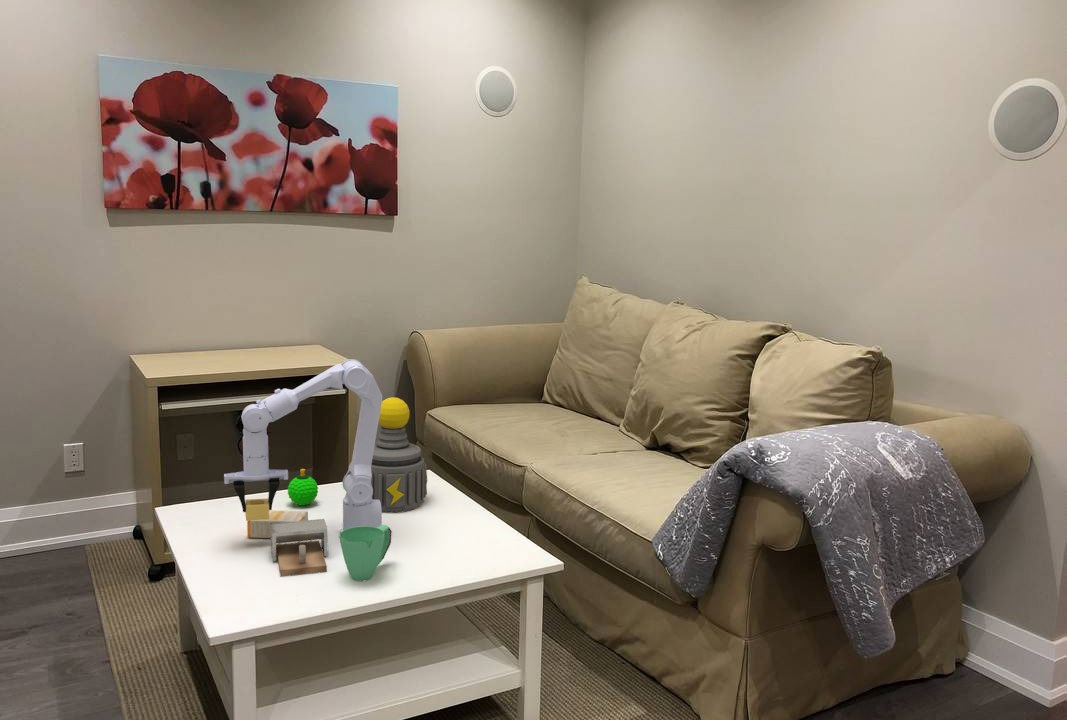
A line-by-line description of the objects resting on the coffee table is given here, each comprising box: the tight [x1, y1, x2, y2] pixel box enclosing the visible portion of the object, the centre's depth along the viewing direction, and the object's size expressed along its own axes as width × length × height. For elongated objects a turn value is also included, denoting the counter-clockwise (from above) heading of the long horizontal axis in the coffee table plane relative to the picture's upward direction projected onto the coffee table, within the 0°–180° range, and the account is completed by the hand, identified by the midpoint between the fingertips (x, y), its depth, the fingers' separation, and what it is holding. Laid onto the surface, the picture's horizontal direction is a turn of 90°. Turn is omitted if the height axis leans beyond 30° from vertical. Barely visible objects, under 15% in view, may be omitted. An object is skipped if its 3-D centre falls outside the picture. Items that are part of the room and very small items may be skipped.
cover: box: [270, 518, 329, 562], centre depth 209 cm, size 12×7×7 cm, turn 109°
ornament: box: [287, 468, 319, 506], centre depth 243 cm, size 8×8×10 cm
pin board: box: [276, 539, 327, 577], centre depth 205 cm, size 10×16×6 cm, turn 19°
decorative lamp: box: [371, 397, 428, 513], centre depth 246 cm, size 19×19×30 cm
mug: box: [338, 524, 392, 582], centre depth 199 cm, size 15×10×10 cm
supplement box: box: [246, 509, 309, 539], centre depth 222 cm, size 8×5×13 cm
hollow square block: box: [244, 498, 269, 521], centre depth 213 cm, size 5×5×4 cm
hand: (257, 509), depth 213 cm, fingers closed on hollow square block, 5 cm apart
